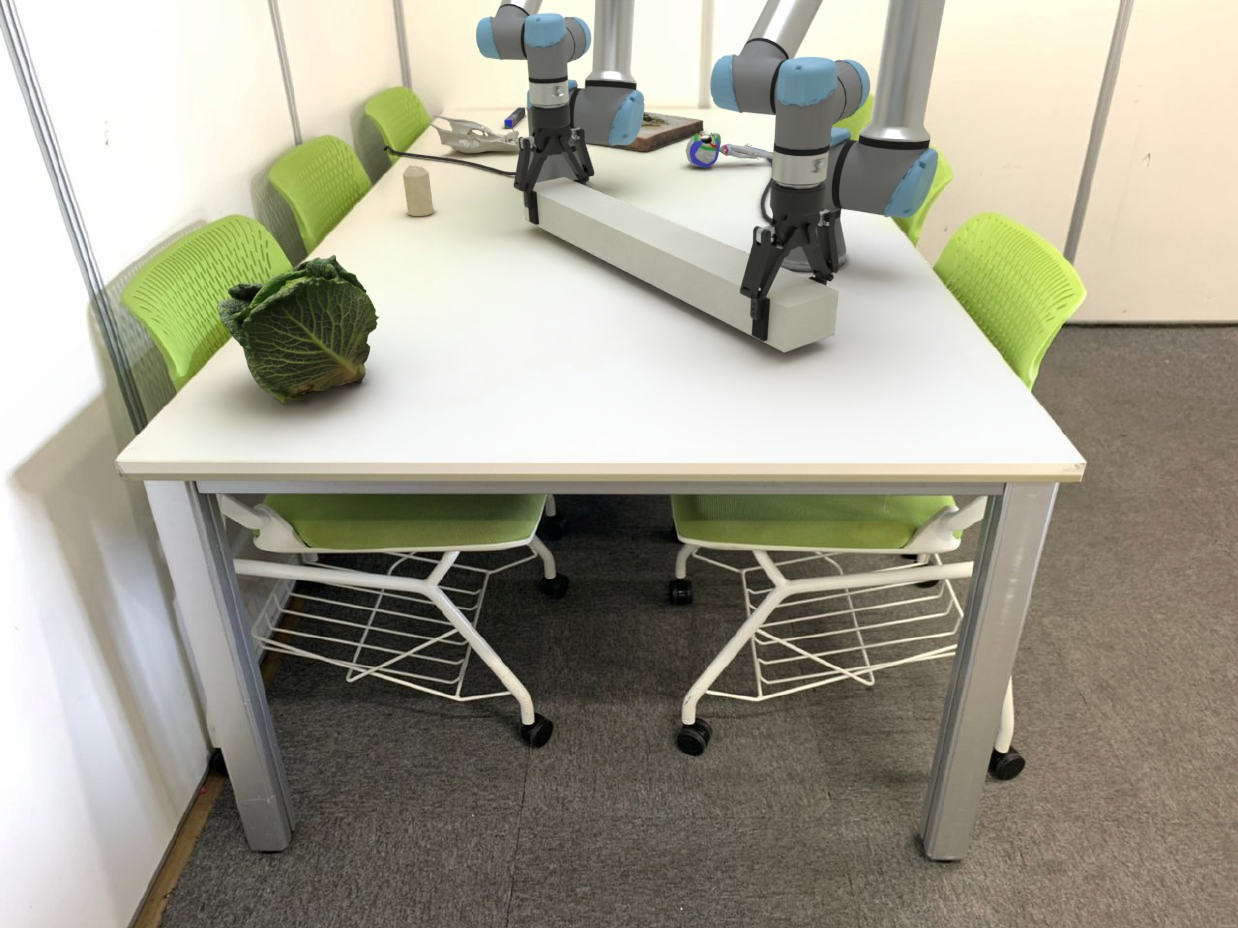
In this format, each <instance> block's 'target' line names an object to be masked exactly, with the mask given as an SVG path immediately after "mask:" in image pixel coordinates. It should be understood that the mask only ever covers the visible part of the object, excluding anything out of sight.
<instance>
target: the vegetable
mask: <svg viewBox="0 0 1238 928" xmlns="http://www.w3.org/2000/svg"><path fill="white" fill-rule="evenodd" d="M227 294H228V295H230V296H231V298H228V299H223V300H220V301H219V302H218V303H217V306H216V307H217V308H219V311H218V312H217V314H218V316H219V318H220V321H221V323H223V324H224V326H225V328H226V329H227V330H228V332H229V334H230V335H231V336H232V338H233V339H234V340H235V341H237V343H238V344H239V346H240V347H242V349H243V354H244V358H245V360H246V365H247V368H248V371H249V372H250V374H251V376H252V378H253V380H254V382H255V383H256V384H257V385H258V386H259V387H260V388H261V389H262V390H264V391H265V392H267V394H270V395H271V396H272V397H274V398H275V399H276V400H277V401H279V402H280V403H282V404H283V405H288V404H290V402H291V401H296V400H298V401H299V400H303V401H304V400H306V397H305V396H304V395H305V394H306V393H309V392H313V391H314V392H315V391H316V392H325V391H326V390H327V389H328V390H329V389H330V388H331V387H337V386H338V387H339V386H342V385H346V384H349V383H350V385H353V384H362V383H363V380H364V378H365V376H366V366H365V363H366V362H367V361H368V358H369V355H370V353H371V345H370V344H368V340H369V336H370V334H371V333H372V332H373V331H375V330H376V329H377V326H378V321H377V320H378V319H380V316H378V315H377V314H376V312H377V309H376V308H375V305H374V303H373V300H372V299H371V298H370V295H369V294H367V290H366V289H365V287H364V285H363V284H362V283H361V282H360V281H359V280H358V277H357V275H356V274H355V273H352V272H349V271H347V270H346V269H345V268H344V267H343V266H342V265H341V264H340V263H339V262H338V260H337V254H336V255H335V254H332V255H331V256H329V257H327V258H320V256H318V257H315V258H313V259H311V260H306V261H304V262H302V263H299V264H297V265H296V266H293V267H292V268H290V269H289V270H288V271H287V272H283V273H282V272H281V273H277V274H274V275H272V276H270V277H269V278H268V279H267V280H266V281H265V283H257V282H251V283H249V282H240V283H237V284H236V285H234V286H232V287H229V288H228V290H227Z"/></svg>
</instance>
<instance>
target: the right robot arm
mask: <svg viewBox="0 0 1238 928" xmlns="http://www.w3.org/2000/svg"><path fill="white" fill-rule="evenodd" d="M823 1H824V0H767V1H766V2H765V4H764V7H763V9H762V10H761V13H760V14H759V16H758V18H757V20H756V21H755V22H756V23H755V24H754V26H753V28H752V30H751V32H750V34H749V36H748V38H747V40H746V41H745V43H744V45H743V47H742V49H741V51H740V52H739V54H737V55H736V54H729V55H728V54H727V55H723V56H721V57H720V58H718V59H717V60H716V62H715V64H714V65H713V68H712V71H711V75H710V83H709V88H710V95H711V97H712V101H713V103H714V105H715V106H716V107H718V108H719V109H721V110H727V111H731V112H736V113H739V114H743V113H748V114H757V115H769V116H775V122H774V141H773V151H772V152H773V159H770V158H766V159H768V161H769V162H770V164H771V176H770V179H769V181H768V183H767V184H766V186H765V188H764V190H763V193H762V195H761V198H760V199H761V200H760V208H761V213H762V217H763V218H764V219H765V220H766V221H767V222H769V224H768V225H766V226H763V227H762V226H760V225H755V226H754V228H753V229H752V244H751V248H750V252H749V254H750V255H749V259H748V262H747V266H746V269H745V273H744V277H743V280H742V284H741V288H740V294H742V295H744V296H746V297H748V298H750V299H751V306H750V308H751V309H750V316H751V318H753V320H752V336H751V337H753V336H754V337H753V338H755V337H756V338H755V339H757V338H758V339H757V340H759V339H760V340H759V341H761V340H762V341H761V342H763V341H766V340H767V339H768V325H769V310H770V299H769V298H767V297H766V296H767V294H768V292H769V290H770V288H771V285H772V283H773V281H774V279H775V277H776V275H777V273H778V271H779V268H780V267H782V268H785V269H787V270H789V271H798V272H812V275H813V276H809V277H808V278H809V279H811V280H814V281H816V282H818V283H821V284H823V285H826V286H828V285H827V284H828V282H832V281H833V280H834V278H835V275H834V274H837V273H838V272H839V270H840V266H842V265H844V263H845V262H846V257H847V246H846V241H845V235H844V231H843V227H842V221H841V215H842V210H846V211H853V212H860V213H865V214H872V215H878V216H882V217H884V218H889V217H891V218H901V219H907V218H911V217H913V216H914V215H915V214H916V213H918V211H919V210H920V208H921V207H922V206H923V204H924V202H925V201H926V199H927V197H928V195H929V192H930V190H931V188H932V185H933V183H934V179H935V177H936V173H937V169H938V165H939V161H938V160H939V153H938V151H937V150H936V149H934V148H933V147H930V144H931V137H932V136H931V134H930V133H929V132H928V130H927V129H926V127H925V124H924V123H925V117H926V111H927V105H928V100H929V95H930V90H931V85H932V77H933V72H934V66H935V61H936V55H937V50H938V44H939V38H940V34H941V33H940V32H941V27H942V21H943V16H944V10H945V5H946V0H888V4H887V11H886V18H885V24H884V31H883V38H882V44H881V50H880V57H879V64H878V70H877V77H876V84H875V91H874V97H873V104H872V110H871V116H870V121H869V123H868V124H867V125H866V126H864V127H863V128H862V129H860V131H859V135H858V140H855V139H851V138H852V133H851V130H850V129H848V128H844V127H839V126H837V127H835V126H834V125H835V124H836V123H840V122H841V121H843V120H845V119H848V118H850V117H852V116H854V115H855V114H856V112H858V111H859V110H860V109H861V108H862V107H864V105H865V103H866V102H867V101H868V99H869V96H870V91H871V78H870V76H869V73H868V71H867V69H866V68H865V67H864V66H863V65H862V64H861V63H859V62H858V61H856V60H853V59H850V58H849V59H846V58H845V59H836V60H832V59H830V58H827V57H819V56H800V57H796V56H797V53H798V52H799V49H800V48H801V46H802V44H803V42H804V40H805V37H806V35H807V33H808V32H809V29H810V28H811V25H812V24H813V21H814V20H815V18H816V15H817V13H818V12H819V10H820V8H821V5H822V4H823ZM769 190H770V194H769V195H770V196H769V208H770V209H771V213H772V217H770V216H769V215H768V214H767V211H766V205H765V201H766V196H767V195H768V192H769ZM759 288H760V289H761V290H759Z"/></svg>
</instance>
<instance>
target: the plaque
mask: <svg viewBox="0 0 1238 928" xmlns="http://www.w3.org/2000/svg"><path fill="white" fill-rule="evenodd" d="M704 130H705V129H704V120H702V119H698V118H693V117H685V116H679V115H669V114H663V113H659V112H650V111H644V115H643V121H642V125H641V128H640V131H639V133H638V135H637V137H636V139H635V140H634V141H633V142H632V143H630V144H628V145H614V146H612V145H607V144H597V146H598V145H599V146H607V147H612V148H620V149H625V150H632V151H640V152H648V151H654V150H656V149H659V148H662V147H663V146H664V147H665V146H667V145H670V144H672V143H676V142H680V141H682V140H684V139H687V138H692V137H693V136H694V135H695V134H699V133H700V132H704Z"/></svg>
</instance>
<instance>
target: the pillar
mask: <svg viewBox="0 0 1238 928" xmlns="http://www.w3.org/2000/svg"><path fill="white" fill-rule="evenodd" d="M526 115H527V114H526V107H517V108H516V109H514V111H513V112H511V113H510V114H509V115H508V116H507V117H506V118H505V119H504V120H503V123H504V125H503V126H504V129H512V128H513V127H514V126H516V125H517V124H518V123H519V122H520V121H521V120H522V119H523V118H524V117H525V116H526Z"/></svg>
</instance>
